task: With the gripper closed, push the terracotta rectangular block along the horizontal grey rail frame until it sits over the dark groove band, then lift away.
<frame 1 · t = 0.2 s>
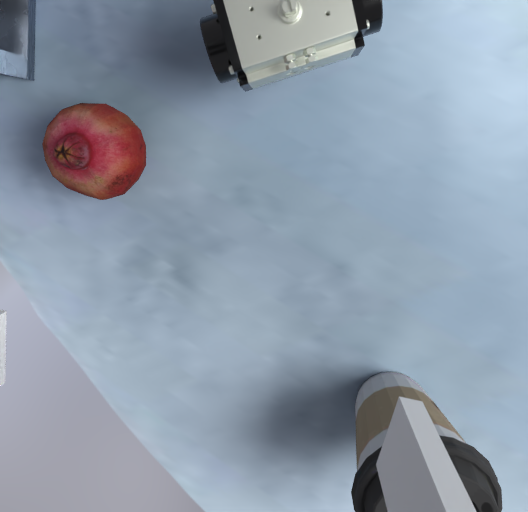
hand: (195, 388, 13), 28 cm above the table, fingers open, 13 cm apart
coffee cup: (388, 399, 44), on the table
fruit: (118, 150, 39), on the table
pneumatic valve: (292, 55, 36), on the table
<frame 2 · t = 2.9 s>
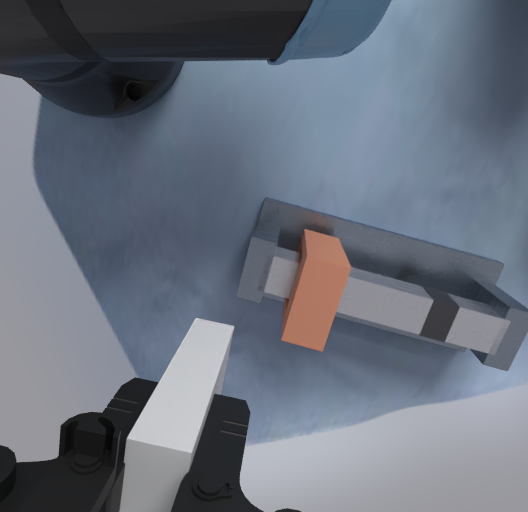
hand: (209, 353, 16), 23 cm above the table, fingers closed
grey rail frame: (366, 274, 38), on the table
terracotta rectangular block: (312, 284, 31), point 7 cm above the table, slide at -5.5 cm
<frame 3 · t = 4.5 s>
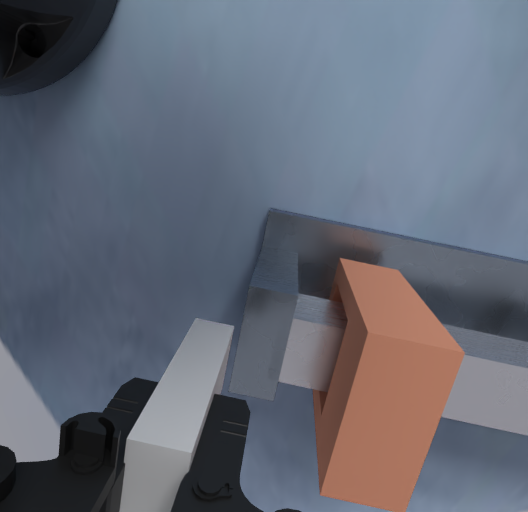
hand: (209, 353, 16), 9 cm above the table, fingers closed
grey rail frame: (438, 320, 24), on the table
terracotta rectangular block: (366, 362, 17), point 7 cm above the table, slide at -5.5 cm
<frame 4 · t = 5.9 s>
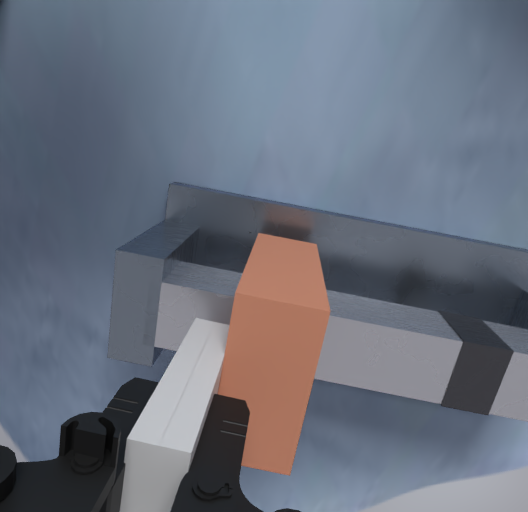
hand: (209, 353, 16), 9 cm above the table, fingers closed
grey rail frame: (346, 292, 24), on the table
terracotta rectangular block: (271, 332, 17), point 7 cm above the table, slide at -4.1 cm, touching gripper
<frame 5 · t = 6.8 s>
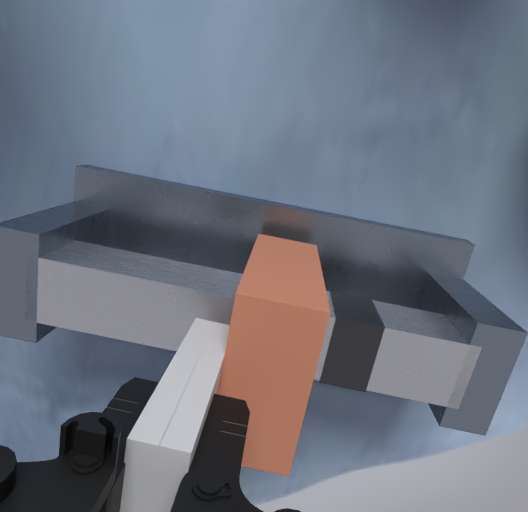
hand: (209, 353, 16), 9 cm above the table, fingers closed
grey rail frame: (260, 276, 24), on the table
terracotta rectangular block: (271, 333, 17), point 7 cm above the table, slide at 1.1 cm, touching gripper
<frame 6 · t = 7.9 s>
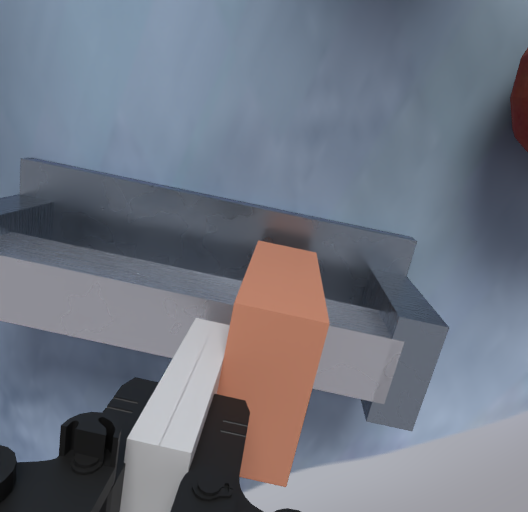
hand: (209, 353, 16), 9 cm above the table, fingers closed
grey rail frame: (207, 271, 24), on the table
terracotta rectangular block: (269, 341, 17), point 7 cm above the table, slide at 4.2 cm, touching gripper
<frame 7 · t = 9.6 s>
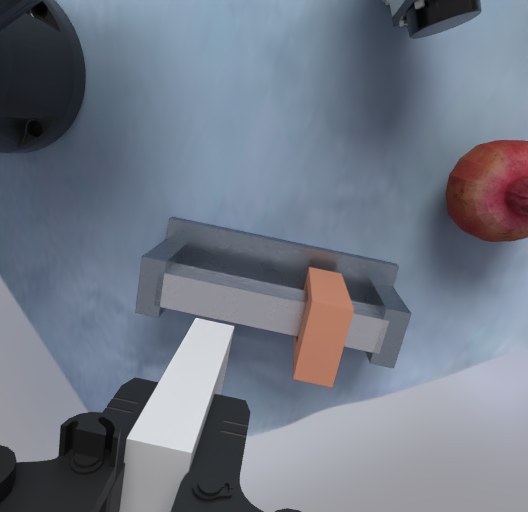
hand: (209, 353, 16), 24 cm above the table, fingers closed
fruit: (476, 186, 37), on the table
grey rail frame: (274, 283, 40), on the table
terracotta rectangular block: (319, 321, 34), point 7 cm above the table, slide at 4.2 cm
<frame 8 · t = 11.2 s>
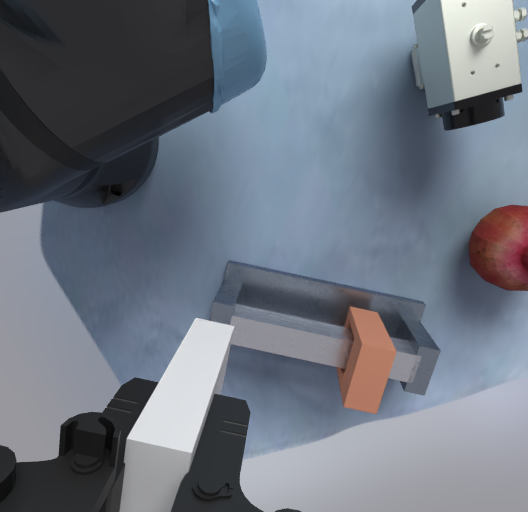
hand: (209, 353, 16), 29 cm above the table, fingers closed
fruit: (493, 237, 43), on the table
grey rail frame: (316, 317, 46), on the table
pneumatic valve: (434, 64, 39), on the table
terracotta rectangular block: (362, 355, 40), point 7 cm above the table, slide at 4.2 cm
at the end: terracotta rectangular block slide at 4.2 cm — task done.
